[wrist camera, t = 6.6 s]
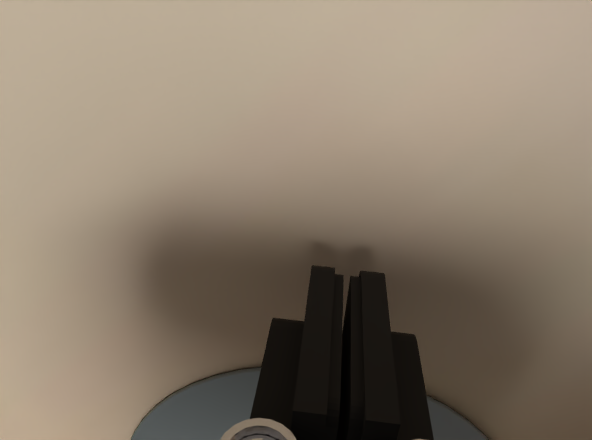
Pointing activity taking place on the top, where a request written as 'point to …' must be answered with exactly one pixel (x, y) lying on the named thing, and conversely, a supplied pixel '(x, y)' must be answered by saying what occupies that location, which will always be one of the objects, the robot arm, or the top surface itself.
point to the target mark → (238, 405)
